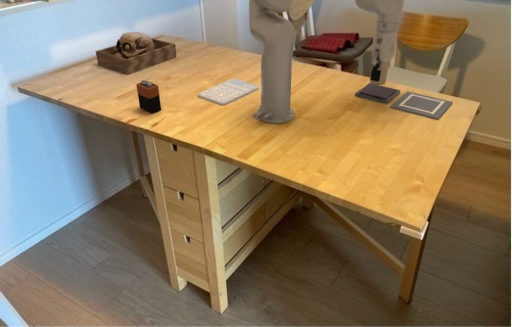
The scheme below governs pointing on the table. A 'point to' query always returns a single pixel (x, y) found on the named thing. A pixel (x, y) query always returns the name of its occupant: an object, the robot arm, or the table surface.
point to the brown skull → (133, 45)
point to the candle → (383, 73)
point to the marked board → (422, 105)
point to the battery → (148, 96)
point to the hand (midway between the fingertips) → (378, 77)
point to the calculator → (228, 92)
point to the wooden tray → (136, 58)
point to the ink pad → (377, 93)
